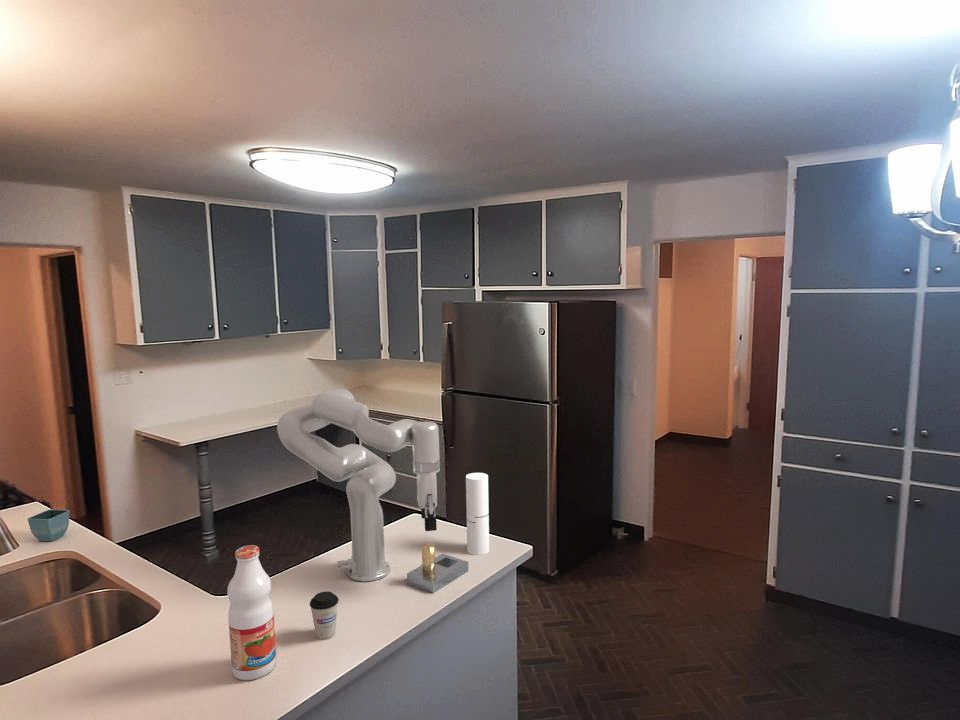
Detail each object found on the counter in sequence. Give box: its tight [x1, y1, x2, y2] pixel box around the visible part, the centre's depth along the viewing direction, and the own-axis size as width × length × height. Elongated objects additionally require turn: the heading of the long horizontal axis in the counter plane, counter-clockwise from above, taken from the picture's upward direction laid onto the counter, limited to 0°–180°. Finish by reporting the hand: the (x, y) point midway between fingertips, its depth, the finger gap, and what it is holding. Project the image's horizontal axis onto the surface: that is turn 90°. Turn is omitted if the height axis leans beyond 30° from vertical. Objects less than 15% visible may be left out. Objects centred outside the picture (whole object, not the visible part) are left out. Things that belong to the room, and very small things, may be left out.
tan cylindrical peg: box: [421, 543, 436, 576], centre depth 170 cm, size 4×4×8 cm
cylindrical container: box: [465, 472, 490, 556], centre depth 190 cm, size 7×7×25 cm
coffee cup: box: [309, 590, 340, 641], centre depth 145 cm, size 7×7×10 cm
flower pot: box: [27, 509, 70, 542], centre depth 205 cm, size 9×9×9 cm
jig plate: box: [406, 553, 469, 594], centre depth 173 cm, size 16×10×3 cm, turn 143°
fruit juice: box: [226, 544, 277, 681], centre depth 131 cm, size 9×9×28 cm
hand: (428, 523), depth 168 cm, fingers open, 9 cm apart
